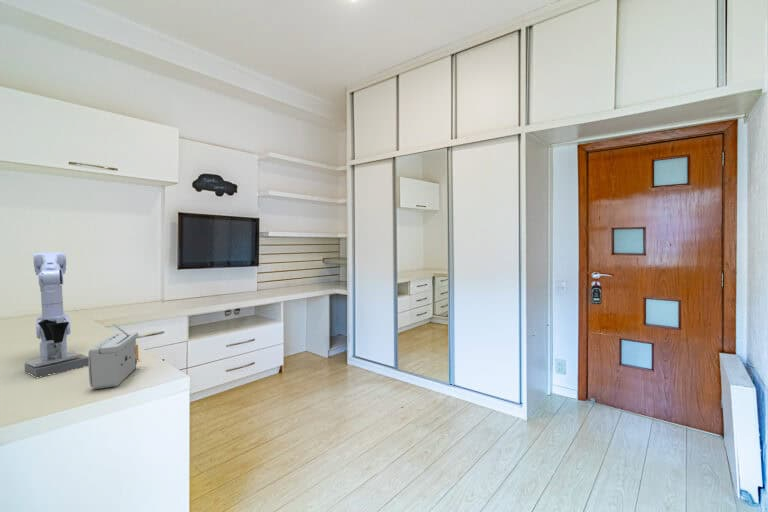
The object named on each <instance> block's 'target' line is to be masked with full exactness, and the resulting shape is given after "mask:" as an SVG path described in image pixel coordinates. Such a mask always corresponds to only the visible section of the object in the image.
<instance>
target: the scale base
mask: <svg viewBox="0 0 768 512" xmlns="http://www.w3.org/2000/svg"><path fill="white" fill-rule="evenodd" d="M80 354H81V353H80ZM84 366H85V367H88V355H87V356H86V355H84V354H81V357H78V358H74V359H69V360H65V361H60V362H56V363H51V364H47V365H42V366H38V367H33V366H31V365H29V364H27V362H26V363H24V373H26V372H27V373H26V374H28V373H30V374H32V375H33V376H32V375H31V376H32V377H34V376H35V377H40V376H44V377H46V376H45V375H48V374H52V375H54V374H53V373H56V374H59V373H58V372H60V373H63V372H62V371H65V372H68V371H67V370H69V371H73V370H77V369H80V367H81V368H85V367H84ZM76 368H77V369H76ZM72 369H73V370H72ZM30 374H29V375H30ZM48 376H49V375H48ZM35 377H34V378H35ZM40 378H41V377H40Z"/></svg>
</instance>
